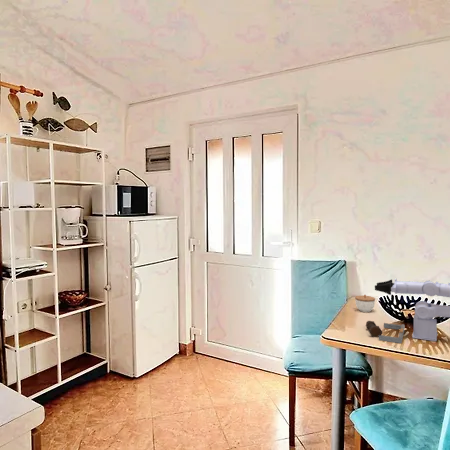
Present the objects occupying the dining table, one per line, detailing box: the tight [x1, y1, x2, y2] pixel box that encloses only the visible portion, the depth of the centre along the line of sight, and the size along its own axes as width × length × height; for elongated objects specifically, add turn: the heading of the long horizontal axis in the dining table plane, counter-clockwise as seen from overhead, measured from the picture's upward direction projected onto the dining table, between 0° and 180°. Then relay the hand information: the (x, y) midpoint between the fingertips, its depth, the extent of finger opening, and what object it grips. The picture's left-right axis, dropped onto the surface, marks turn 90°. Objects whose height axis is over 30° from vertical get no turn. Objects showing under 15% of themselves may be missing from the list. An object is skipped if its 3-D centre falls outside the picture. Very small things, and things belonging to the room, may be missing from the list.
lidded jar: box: [354, 294, 376, 313], centre depth 209 cm, size 11×11×9 cm
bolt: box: [365, 320, 383, 338], centre depth 172 cm, size 6×5×15 cm
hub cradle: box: [378, 322, 405, 344], centre depth 168 cm, size 9×21×3 cm, turn 150°
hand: (375, 286), depth 173 cm, fingers open, 7 cm apart
